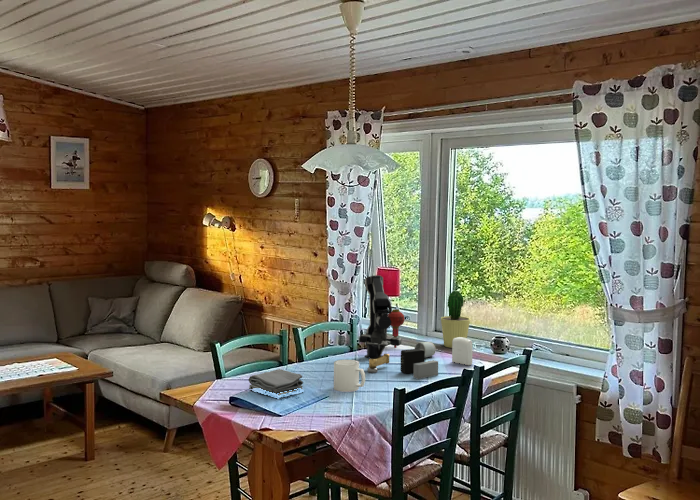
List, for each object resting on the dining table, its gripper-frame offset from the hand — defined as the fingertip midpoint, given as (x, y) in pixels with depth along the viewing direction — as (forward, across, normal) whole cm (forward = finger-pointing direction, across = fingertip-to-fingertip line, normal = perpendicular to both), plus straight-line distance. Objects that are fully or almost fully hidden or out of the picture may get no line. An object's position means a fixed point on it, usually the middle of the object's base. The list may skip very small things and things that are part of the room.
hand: (379, 358), depth 312 cm
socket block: (+4, +23, -8) cm, 25 cm away
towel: (+6, -28, -53) cm, 60 cm away
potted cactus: (+3, +25, +61) cm, 66 cm away
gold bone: (+2, +1, -3) cm, 4 cm away
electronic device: (+4, +16, -3) cm, 17 cm away
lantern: (+4, -4, +46) cm, 46 cm away
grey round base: (+4, -1, -8) cm, 9 cm away
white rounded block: (+3, +35, +22) cm, 41 cm away
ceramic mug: (+4, +14, +30) cm, 33 cm away
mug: (+5, -2, -39) cm, 39 cm away
